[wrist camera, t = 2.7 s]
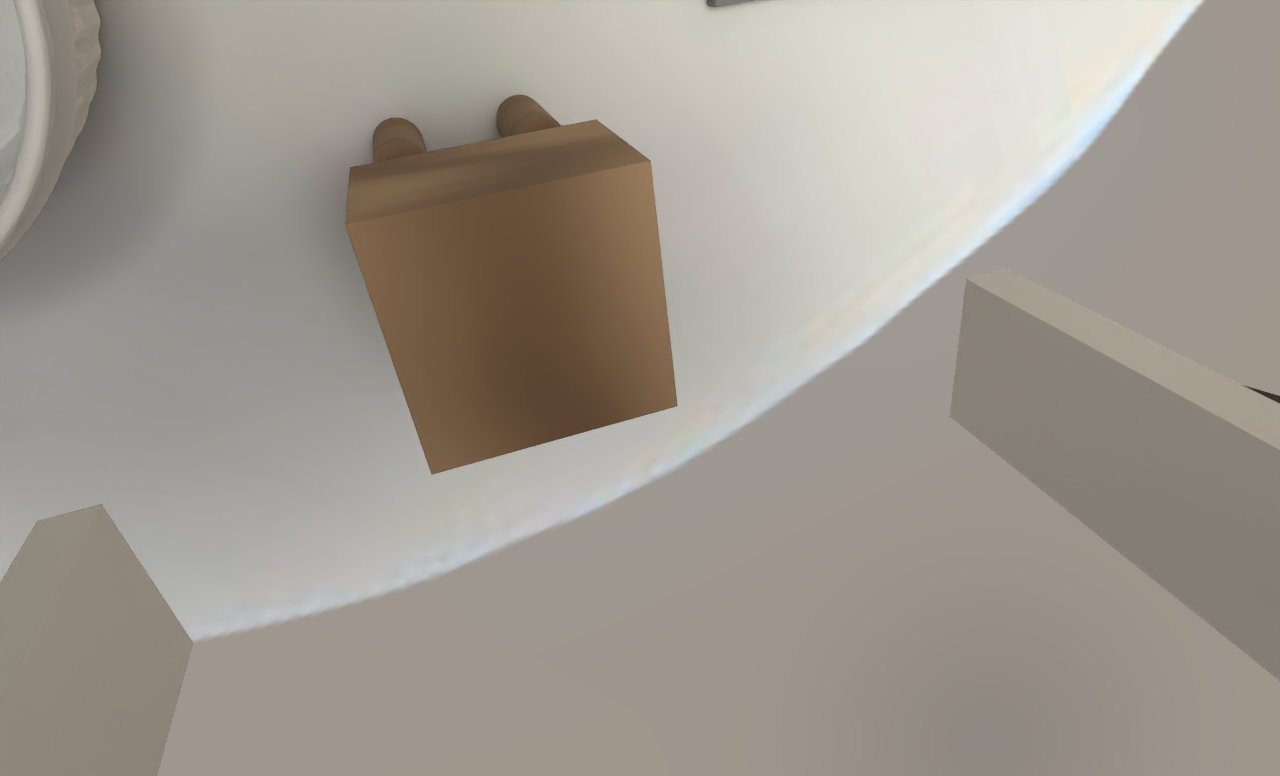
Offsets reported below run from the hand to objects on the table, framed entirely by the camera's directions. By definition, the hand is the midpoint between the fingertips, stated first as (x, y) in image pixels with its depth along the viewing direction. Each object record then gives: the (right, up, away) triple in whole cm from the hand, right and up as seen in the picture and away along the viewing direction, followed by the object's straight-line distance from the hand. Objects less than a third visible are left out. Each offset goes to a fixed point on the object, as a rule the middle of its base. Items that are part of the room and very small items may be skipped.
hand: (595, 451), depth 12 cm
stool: (-4, +7, +11) cm, 14 cm away
